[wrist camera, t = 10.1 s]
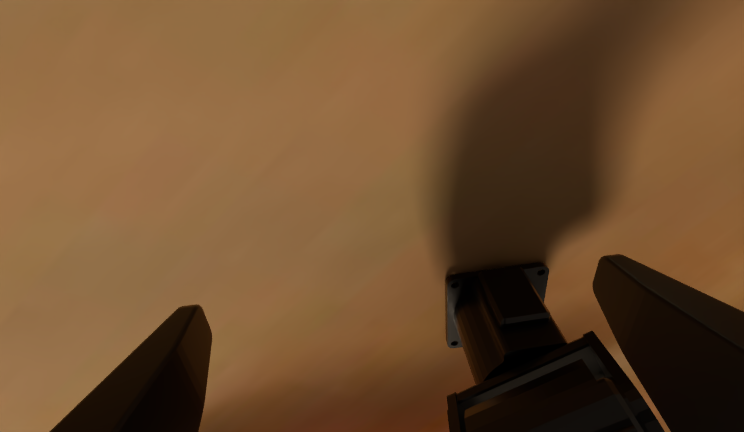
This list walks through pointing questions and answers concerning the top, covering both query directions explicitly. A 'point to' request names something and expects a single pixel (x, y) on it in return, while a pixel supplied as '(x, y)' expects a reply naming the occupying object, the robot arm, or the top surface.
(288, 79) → the top surface
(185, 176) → the top surface
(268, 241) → the top surface
